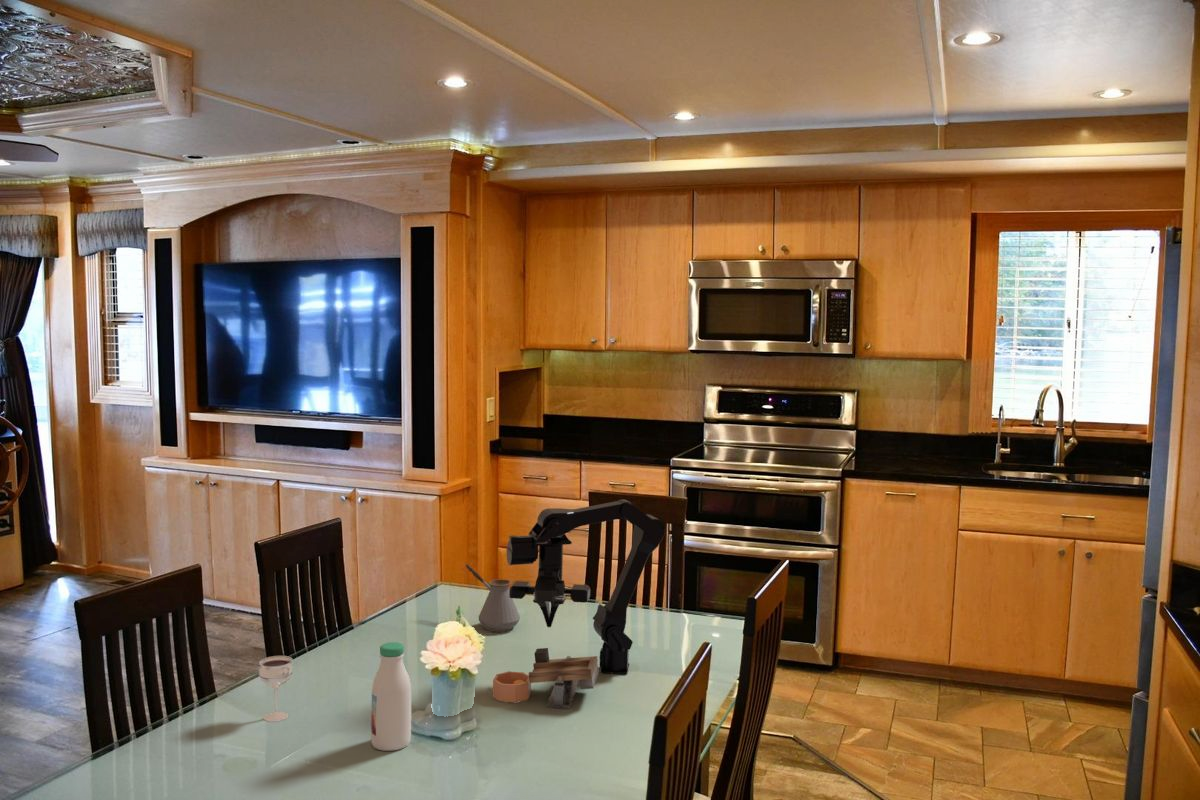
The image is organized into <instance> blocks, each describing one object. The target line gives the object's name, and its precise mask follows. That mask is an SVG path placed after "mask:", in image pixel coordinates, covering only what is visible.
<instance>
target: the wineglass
mask: <svg viewBox="0 0 1200 800" xmlns="http://www.w3.org/2000/svg"><path fill="white" fill-rule="evenodd" d="M292 663H293V658H292V657H291V656H287V655H273V656H268V657H264V658H263V659H261V660H260V661H259V663H258V664H259V666H260V667H259V669H258V676H259V679H260V680H261V681H262V682H263V684H265V685H267V686H271V687H272V689H273V694H274V695H273V697H274V712H270V713H267V714H265V715H264V716H263V720H264V721H266V722H270V723H271V722H280V721H281V722H282V721H284V720H286V719H287V718H288V717H289V714H288V713H287V712H283V711H278V696H279V693H278V692H279V688H280V687H281V686H282V685H284V684H286V683H287V681H289V680H290V679H291V677H292V675H293V671H294V668H293V664H292Z"/></svg>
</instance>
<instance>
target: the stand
mask: <svg viewBox="0 0 1200 800" xmlns="http://www.w3.org/2000/svg"><path fill="white" fill-rule="evenodd" d="M578 687H579V680H567V681H562V682H561V683H557V681H555V683H554V685H553V689H552V692H551V694H550V696H549V699H548V701H547V703H546V708H548V709H549V708H550V709H564V710H570V708H571V706H572V703H573V701H574V697H575V695H576V692H577V690H578Z"/></svg>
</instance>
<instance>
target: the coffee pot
mask: <svg viewBox="0 0 1200 800" xmlns="http://www.w3.org/2000/svg"><path fill="white" fill-rule="evenodd" d="M465 567H466V569H464V568H465ZM462 570H463V571H465V572H466V571H469V572H471V574H472V575H473V576H474V577H475V578H476V579H477V580H479V581H480V582H481V583H482V584H483V585H484V586H485V587H486V588H487V589H488V590H489V593H488V595H487V597H486V599H485V602H484V604H483V606H482V607H481V610H480V612H479V615H478V622H479V623H480V624H481V626H482V627H484V629H485V630H487V631H490V632H495V633H499V632H501V633H503V632H508V631H511V630H513V628H514V627H516V626H517V624H518V623H519V621H520V619H521V618H520V617H521V616H520V612H519V611H518V609H517V606H516V604H515V603H516V602H515V600H514V598H509V591H510V587H511V586H512V581H511V580H510V579H503V578H502V579H501V578H500V579H492V580H489V581H488V583H487V582H486V581H485V579H484V578H483V577H482V575H480V574H479V572H478V571H475V569H473V567H471V566H470V565H469V564H465V565H464V566H463V568H462Z"/></svg>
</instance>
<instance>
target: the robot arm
mask: <svg viewBox="0 0 1200 800" xmlns="http://www.w3.org/2000/svg"><path fill="white" fill-rule="evenodd" d="M619 519H625V520H626V521H627V522H628V523H630V524H631V525H632V526H634V527H633V530H632V539H631V548H630V551H629V553H628V555H627V558H626V560H625V562H624V564H623V565H624V566H623V568H622V570H621V572H620V575H619V577H618V580H617V582H616V585H615V586H614V589H613V592H612V594H611V597H610V598H609V601H607V602H606V604H604V605H602V604H601V603H599V604H598V606H597V610H596V613H595V614H594V615H593V617H592V620H593V629H594V631H595V633H596V634H597V635H598V636H599V637H600V638H601V640H602V641H603V643H602V645H601V646H602V647H601V648H600V650H599V668H600V673H602V674H614V675H615V674H616V675H617V674H618V675H627V674H628V672H629V669H630V663H629V657H630V656H629V652H630V650H631V648H632V646H633V640H632V639H631V638H630V637H629V636H628V635H627V634H626V633H625V629H626V624H627V612H628V611H627V610H628V607H629V605H630V602H631V599H632V597H633V595H634V592H635V589H636V588H637V585H638V583H639V580H640V578H641V576H642V573H643V571H644V568H645V566H646V564H647V561H648V559H649V556H650V555H651V554H652V553H653V552H654V551H655V550H656V549H657V548H658V547H659V545H660V544H661V542H662V541H663V539H664V537H665V535H666V532H667V531H666V530H667V528H666V526H665V524H664V522H663V521H662V520H660V519H658V518H657V517H655V516H653V515H651V514H648V513H644V512H643V511H642V510H640V509H638V508H637V507H636V506H634V504H633V503H632V502H631V501H629V500H626V499H624V498H623V499H619V500H617V501H616V500H615V501H609V502H605V503H600V504H594V505H591V506H590V505H589V506H585V507H579V508H553V507H552V508H550V507H549V508H545V509H542V510H541V512H539V514H538V516H537V521H536V523H535V524H534V526H533V527H531V530H530V531H529V532H528V535H515V534H514V535H509V536H508V537H509V538H508V539H509V540H508V542H507V547H506V560H507V564H508V565H509V566H513V565H514V566H516V565H517V566H519V565H533V564H534V563H535V562H537V560H538V571H537V578H536V580H535V585H534V586H532V585H531V583H530V581H525V580H524V581H523V580H515V581H514V582H513V583H512V584H511V585H510V587H509V598H513V599H516V600H522V599H524V597H526V595H533V599H532V601H533V603H534V604H537V605H538V606H539V608H540V609H541V610H540V611H542V615H543V618H544V621H545V624H546V627H547V628H551V627H552V625H553V622H554V620H555V617H556V613H557V611H558V609H559V606H560V605H563V604H564V603H565V602H566V600H567V597H568V598H569V597H570V599H571V600H572V602H573V603H588V601H589V599H590V597H591V587H590V585H588V584H573V585H572V587H571V588H569V587H566V584H565V580H563V563H564V562H563V561H564V560H563V559H564V557H563V556H564V555H563V554H564V545H566V546H568V545H572V540H570V539H569V538H568V537H567V533H570V532H571V531H574V530H575V529H577V528H579V527H583V526H589V525H593V524H601V523H603V522H609V521H615V520H619Z"/></svg>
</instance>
